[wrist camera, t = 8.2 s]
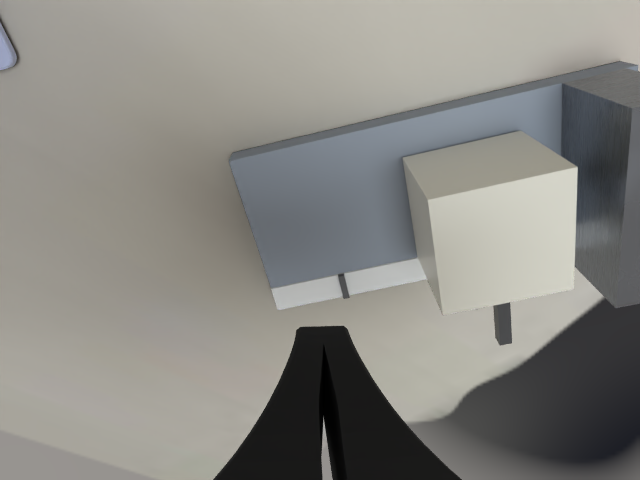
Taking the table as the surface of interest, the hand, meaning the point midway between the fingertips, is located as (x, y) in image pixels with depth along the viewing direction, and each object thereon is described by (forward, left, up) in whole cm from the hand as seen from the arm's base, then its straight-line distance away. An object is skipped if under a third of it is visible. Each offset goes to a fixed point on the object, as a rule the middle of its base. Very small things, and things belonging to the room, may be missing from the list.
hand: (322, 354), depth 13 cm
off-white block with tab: (+7, -2, -9) cm, 12 cm away
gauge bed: (+6, -1, -10) cm, 12 cm away
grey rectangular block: (+12, -1, -9) cm, 15 cm away
